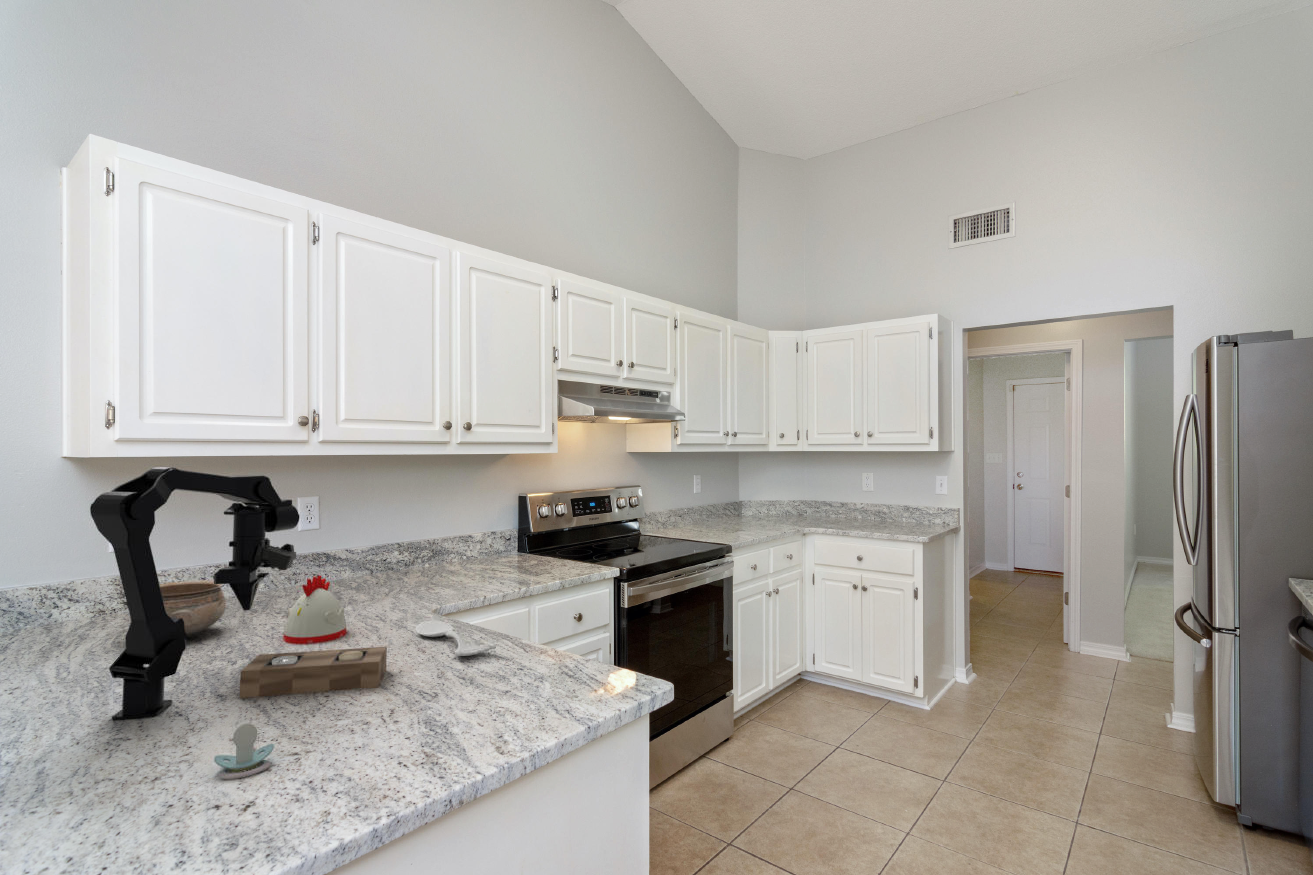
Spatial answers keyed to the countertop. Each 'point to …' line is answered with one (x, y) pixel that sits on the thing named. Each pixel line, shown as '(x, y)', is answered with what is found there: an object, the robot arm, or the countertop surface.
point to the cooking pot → (194, 603)
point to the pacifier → (244, 755)
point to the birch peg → (351, 655)
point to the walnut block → (313, 672)
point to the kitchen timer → (315, 615)
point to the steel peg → (284, 660)
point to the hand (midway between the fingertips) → (247, 609)
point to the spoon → (446, 629)
